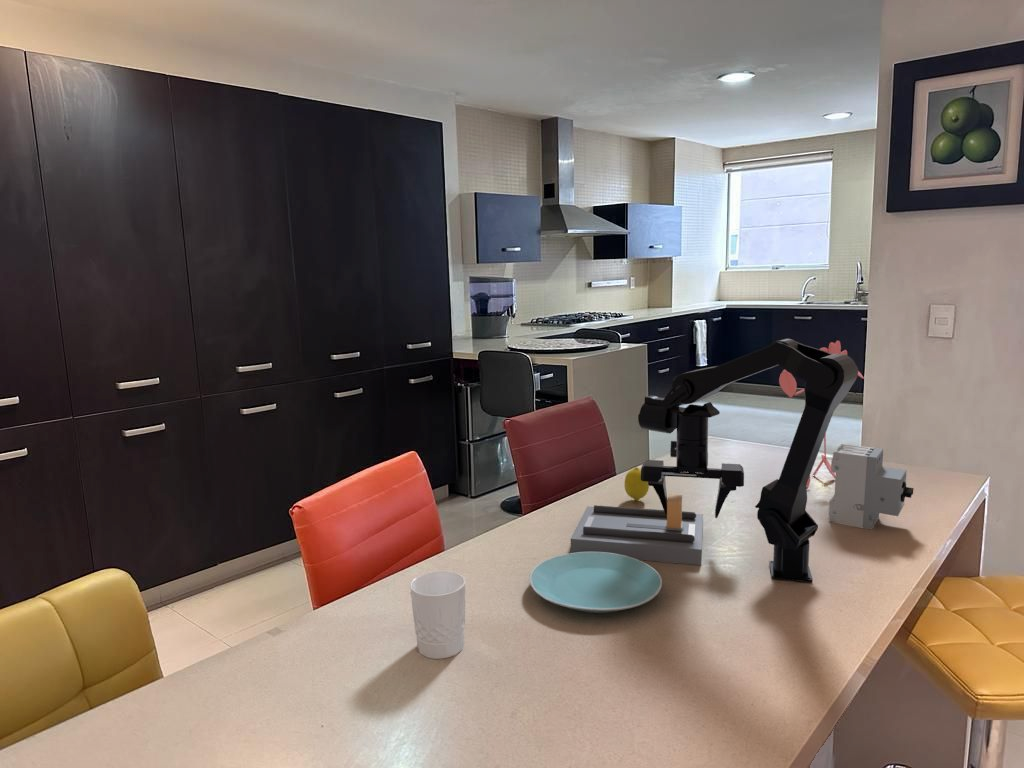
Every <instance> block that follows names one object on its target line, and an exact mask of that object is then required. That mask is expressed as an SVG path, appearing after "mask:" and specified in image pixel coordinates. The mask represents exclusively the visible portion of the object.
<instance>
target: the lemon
mask: <svg viewBox="0 0 1024 768" xmlns="http://www.w3.org/2000/svg"><path fill="white" fill-rule="evenodd" d="M649 488H650V486H649V485H648V482H646V481H641V469H640V468H639V467H634V468H633V469H631V470H629V471H628V472H627V473H626V475H625V478H624V491H625V492H626V495H628V496H629V497H630V498H631V499H633V500H634V501H636V502H637V501H640V500H641V499H642V498H645V496H646V495H647V494H648V492H649V490H650V489H649Z"/></svg>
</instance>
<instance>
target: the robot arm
mask: <svg viewBox="0 0 1024 768" xmlns="http://www.w3.org/2000/svg"><path fill="white" fill-rule="evenodd" d="M820 349H821V348H819V349H818V348H815V347H813V346H809V345H806V344H803V343H801V342H798V341H797V340H795V339H791V338H784V339H781V340H776V341H774V342H772V343H771V344H770V345H768V346H765V347H762V348H760V349H757V350H755V351H752V352H750V353H747V354H744V355H742V356H740V357H737V358H734V359H732V360H730V361H727V362H725V363H722V364H720V365H715V366H710V367H703V368H700V369H694V370H691V371H687V372H683V373H679V374H677V375H676V376H675V377H674V378H673V382H672V386H671V387H672V388H671V389H669V392H667V394H666V396H665V397H659V396H657V395H647V396H644V403H643V404H642V405H641V407H640V410H639V414H638V416H637V419H638V420H637V421H638V426H639V427H640V428H641V429H642V430H645V431H651V432H656V433H657V432H658V433H665V434H672V433H674V431H675V430H676V440H671V441H670V448H669V449H670V451H669V452H670V458H676V462H675V463H676V465H675V466H671V465H664V460H654V459H646V460H644V461H643V462H642V465H641V467H640V468H641V481H646V482H648V485H649V487H653V489H654V491H655V492H656V495H657V496H658V498H659V500H660V503H661V507H662V510H664V512H665V514H666V515H667V500H668V494H667V486H666V477H675V478H676V477H677V478H679V477H680V478H694V479H697V478H698V479H715V480H719V482H718V489H717V496H716V501H715V502H716V503H715V507H714V508H715V509H714V518H715V519H718V517H719V515H720V512H721V509H722V507H723V504H724V503H725V501H726V499H727V498H728V496H729V495H730V492H731V491H733V492H734V491H737V487H739V488H741V487H744V485H745V472H744V467H743V465H741V464H740V463H721V468H710V467H708V466H709V463H708V462H709V451H708V449H709V418H712V417H715V416H718V415H720V410H719V409H718V408H717V407H715V406H714V405H713V403H712V402H711V401H708V402H706V403H703V405H700V404H694V403H697V402H699V401H703V400H706V399H708V398H709V397H711V396H713V395H714V394H716V393H718V392H719V391H721V390H722V389H723V388H725V387H727V386H728V385H730V384H732V383H735V382H737V381H740V380H742V379H745V378H748V377H750V376H753V375H756V374H758V373H761V372H763V371H767V370H769V369H772V368H775V367H777V366H780V367H782V368H784V370H786V371H787V372H789V373H791V374H792V375H793V376H795V377H797V378H799V379H801V380H803V381H805V383H804V388H803V389H804V392H803V395H804V409H803V410H802V411H803V412H802V414H801V417H800V419H799V422H798V425H797V428H796V431H795V433H794V436H793V439H792V442H791V445H790V448H789V451H788V453H787V456H786V458H785V461H784V464H783V466H782V470H781V473H780V475H779V478H776V479H774V480H772V482H770V483H768V484H766V485H764V486H762V488H761V491H760V498H759V501H758V503H757V504H756V505H755V506H754V507H755V508H756V509H758V510H757V514H756V516H757V520H758V521H759V523H760V525H761V527H762V528H763V530H764V533H765V537H766V539H767V543H768V544H769V545H771V546H772V545H773V554H772V555H773V557H772V558H773V560H769V570H770V574H771V575H770V577H771V578H772V579H774V580H784V581H794V582H795V581H796V582H803V583H805V582H806V583H812V582H813V575H812V573H811V572H812V571H811V569H810V566H809V563H810V562H809V561H810V539H811V538H812V537H815V534H816V532H817V531H818V528H819V524H818V523H817V522H816V521H815V520H814V519H813V518H812V516H811V515H810V514H809V513H808V512H807V511H806V509H807V503H808V493H807V490H808V489H806V485H807V481H808V479H809V476H810V477H811V473H812V470H813V467H814V466H815V462H816V459H817V457H818V454H819V451H820V449H821V446H822V444H823V442H824V436H825V433H827V431H828V428H829V425H830V422H831V420H832V417H833V415H834V413H835V410H836V409H837V408H838V406H839V405H840V404H841V402H842V401H843V400H844V399H845V398H846V397H847V395H848V393H849V391H850V390H851V388H852V386H853V385H854V384H855V382H856V381H857V378H858V377H859V376H858V371H859V367H858V366H857V363H856V362H855V360H854V359H853V358H852V357H851V356H849V355H848V354H847V355H845V354H830V353H828V352H826V351H823V350H820ZM682 405H687V406H686V407H682Z"/></svg>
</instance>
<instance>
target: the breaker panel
mask: <svg viewBox="0 0 1024 768" xmlns="http://www.w3.org/2000/svg"><path fill="white" fill-rule="evenodd" d="M695 514H696V518H695V519H683V518H682V521H683V527H682V531H677V530H666V524H667V517H655V516H641V515H627V514H614V513H600V512H594V506H586V508H585V510H584V512H583V514H582V516H581V518H580V519H579V521H578V523H577V525H576V527H575V529H574V532H573V534H572V536H571V537H570V553H576V552H607V553H614V554H620V555H625V556H628V557H632V558H635V559H637V560H640V561H647V562H648V561H651V562H660V563H661V562H662V563H674V564H684V565H697V566H702V561H703V560H702V556H703V555H702V553H703V533H704V513H703V514H700V513H695ZM584 526H585V527H598V528H611V529H623V530H636V531H649V532H662V533H675V534H687V535H693V536H694V538H695V540H694V541H693V542H678V541H666V540H654V539H641V538H629V537H617V536H604V535H592V534H583V527H584Z"/></svg>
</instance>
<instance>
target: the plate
mask: <svg viewBox="0 0 1024 768" xmlns="http://www.w3.org/2000/svg"><path fill="white" fill-rule="evenodd" d="M529 585H530V586H531V588H532V590H533V591H534V592H535V594H537V595H538V596H539V597H540V598H542V599H544V600H546V601H547V602H550V603H551V604H554V605H556V606H557V605H558V606H559V607H560V606H561V607H563V608H568V609H571V610H574V611H578V612H583V613H591V614H592V613H593V614H594V613H595V614H602V613H604V614H605V613H614V612H618V611H623V610H629V609H633V608H636V607H637V608H638V607H639V606H642V605H644V604H646V603H648V602H650V601H651V600H653V599H654V598H655V597H657V595H659V593H660V592H661V589H662V586H663V579H662V576H661V575H660V573H659V572H658V571H657V570H656V569H655V568H654V567H653V566H651V565H650V564H648V563H646V562H644V561H643V560H637V559H635V558H632V557H628V556H625V555H620V554H614V553H607V552H576V553H571V552H570V553H564V554H560V555H557V556H553V557H550V558H547V559H545V560H543V561H541V562H540V563H538V564H537V565H536V566H534V568H533V569H532V570H531V572H530V574H529Z"/></svg>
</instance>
